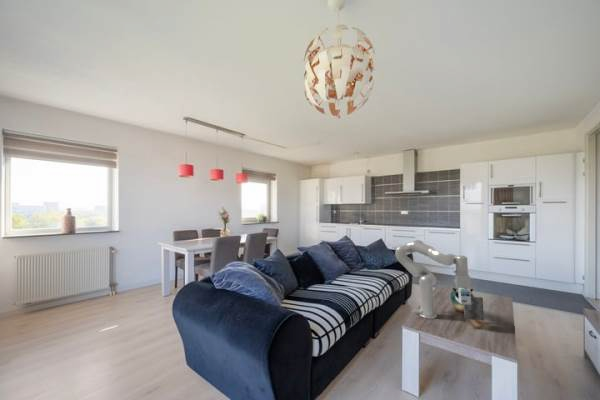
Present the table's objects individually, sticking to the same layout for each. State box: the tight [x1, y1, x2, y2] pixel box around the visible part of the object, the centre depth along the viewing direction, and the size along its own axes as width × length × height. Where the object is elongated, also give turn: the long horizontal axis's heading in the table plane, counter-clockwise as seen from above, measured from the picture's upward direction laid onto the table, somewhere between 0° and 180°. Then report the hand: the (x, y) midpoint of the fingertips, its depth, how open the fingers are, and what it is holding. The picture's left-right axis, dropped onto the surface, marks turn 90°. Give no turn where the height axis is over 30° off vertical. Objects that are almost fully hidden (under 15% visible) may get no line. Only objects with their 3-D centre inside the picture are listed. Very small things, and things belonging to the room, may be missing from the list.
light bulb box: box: [454, 287, 472, 305], centre depth 184 cm, size 11×7×11 cm, turn 168°
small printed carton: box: [463, 296, 493, 331], centre depth 183 cm, size 12×14×18 cm
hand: (462, 297), depth 184 cm, fingers closed on light bulb box, 6 cm apart
